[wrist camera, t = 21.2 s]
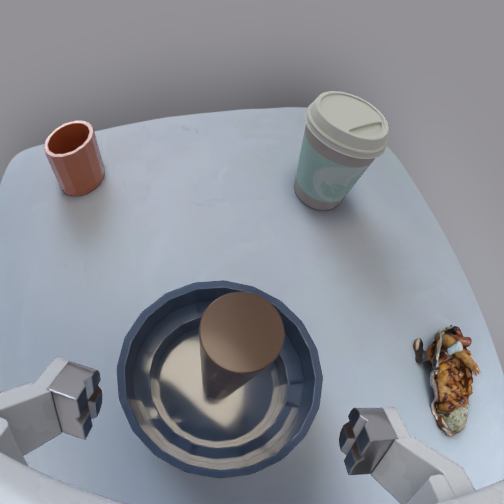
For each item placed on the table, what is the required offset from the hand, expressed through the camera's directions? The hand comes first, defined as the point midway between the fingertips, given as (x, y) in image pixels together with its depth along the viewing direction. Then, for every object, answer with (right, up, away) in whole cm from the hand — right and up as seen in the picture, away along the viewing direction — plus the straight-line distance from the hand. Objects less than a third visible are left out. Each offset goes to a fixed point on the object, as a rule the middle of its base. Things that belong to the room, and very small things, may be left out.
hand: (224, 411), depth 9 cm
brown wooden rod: (-2, -6, +16) cm, 17 cm away
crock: (-19, +14, +25) cm, 34 cm away
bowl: (-2, -6, +17) cm, 18 cm away
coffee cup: (+9, +12, +29) cm, 32 cm away
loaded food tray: (+22, -9, +19) cm, 31 cm away
